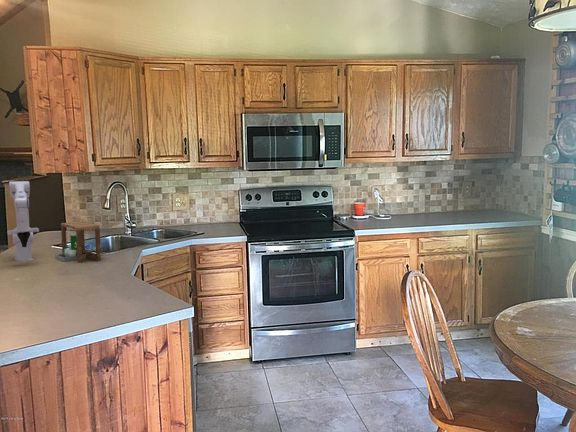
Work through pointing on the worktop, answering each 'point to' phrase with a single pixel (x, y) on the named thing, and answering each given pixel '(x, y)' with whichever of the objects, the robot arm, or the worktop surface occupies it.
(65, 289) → the worktop surface
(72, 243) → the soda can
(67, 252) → the pale green rounded cylinder
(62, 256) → the tray
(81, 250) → the small wooden stool
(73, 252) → the mint green capsule
